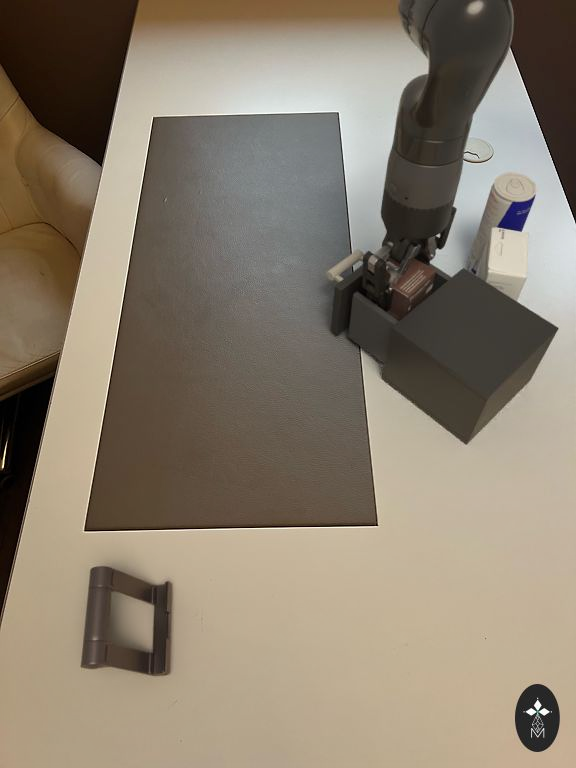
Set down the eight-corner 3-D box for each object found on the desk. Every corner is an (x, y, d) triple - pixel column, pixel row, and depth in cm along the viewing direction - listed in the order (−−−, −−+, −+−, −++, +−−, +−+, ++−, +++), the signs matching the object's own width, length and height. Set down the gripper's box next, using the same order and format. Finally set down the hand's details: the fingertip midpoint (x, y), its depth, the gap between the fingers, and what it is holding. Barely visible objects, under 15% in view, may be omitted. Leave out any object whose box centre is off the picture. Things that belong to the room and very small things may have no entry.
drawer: (308, 313, 86) (309, 267, 79) (368, 268, 91) (374, 221, 84) (401, 385, 79) (412, 342, 72) (461, 332, 84) (477, 286, 77)
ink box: (502, 340, 84) (529, 278, 75) (465, 333, 85) (487, 272, 75) (504, 293, 89) (530, 230, 79) (469, 288, 90) (490, 224, 80)
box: (399, 337, 79) (408, 298, 73) (362, 312, 82) (367, 273, 76) (427, 310, 82) (438, 270, 76) (390, 287, 84) (398, 246, 78)
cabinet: (381, 379, 81) (391, 326, 72) (446, 322, 86) (463, 267, 77) (466, 445, 75) (488, 397, 67) (530, 380, 81) (559, 328, 72)
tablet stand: (171, 677, 61) (155, 660, 54) (90, 684, 61) (64, 668, 54) (173, 587, 66) (159, 561, 59) (98, 593, 66) (75, 568, 59)
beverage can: (480, 288, 90) (510, 204, 77) (459, 262, 93) (484, 178, 80) (512, 276, 91) (547, 192, 79) (491, 251, 94) (520, 166, 81)
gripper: (404, 234, 61) (384, 340, 74) (492, 167, 66) (458, 278, 80) (347, 198, 64) (338, 307, 78) (436, 137, 69) (412, 249, 83)
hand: (399, 292), depth 79 cm, fingers closed on box, 6 cm apart
